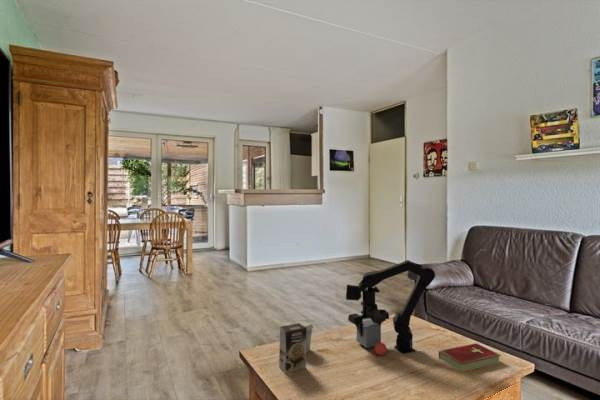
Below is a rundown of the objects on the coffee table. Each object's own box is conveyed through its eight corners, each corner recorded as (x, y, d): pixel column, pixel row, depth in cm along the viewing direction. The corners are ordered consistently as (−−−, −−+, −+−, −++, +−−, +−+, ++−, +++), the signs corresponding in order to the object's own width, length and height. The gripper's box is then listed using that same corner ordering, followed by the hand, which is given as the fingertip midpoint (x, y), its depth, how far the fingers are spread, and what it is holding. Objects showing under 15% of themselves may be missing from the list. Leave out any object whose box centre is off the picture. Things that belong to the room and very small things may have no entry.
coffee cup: (310, 355, 142) (311, 327, 142) (291, 353, 144) (291, 325, 143) (314, 346, 150) (314, 320, 150) (295, 344, 152) (295, 318, 152)
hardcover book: (438, 359, 141) (438, 349, 141) (475, 351, 148) (475, 342, 148) (461, 373, 130) (461, 362, 130) (500, 364, 137) (500, 354, 137)
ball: (381, 351, 146) (381, 339, 146) (389, 356, 142) (389, 344, 142) (372, 353, 144) (372, 341, 144) (379, 358, 140) (379, 346, 140)
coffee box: (286, 374, 127) (286, 332, 127) (278, 366, 132) (279, 326, 132) (306, 368, 131) (307, 327, 131) (298, 361, 137) (299, 322, 137)
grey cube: (370, 338, 157) (370, 319, 156) (380, 344, 150) (380, 325, 149) (356, 340, 154) (356, 321, 153) (366, 348, 146) (366, 328, 146)
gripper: (361, 309, 140) (361, 346, 140) (397, 303, 147) (397, 338, 148) (347, 301, 150) (347, 336, 151) (381, 296, 158) (381, 329, 158)
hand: (368, 335), depth 151 cm, fingers closed on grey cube, 8 cm apart
